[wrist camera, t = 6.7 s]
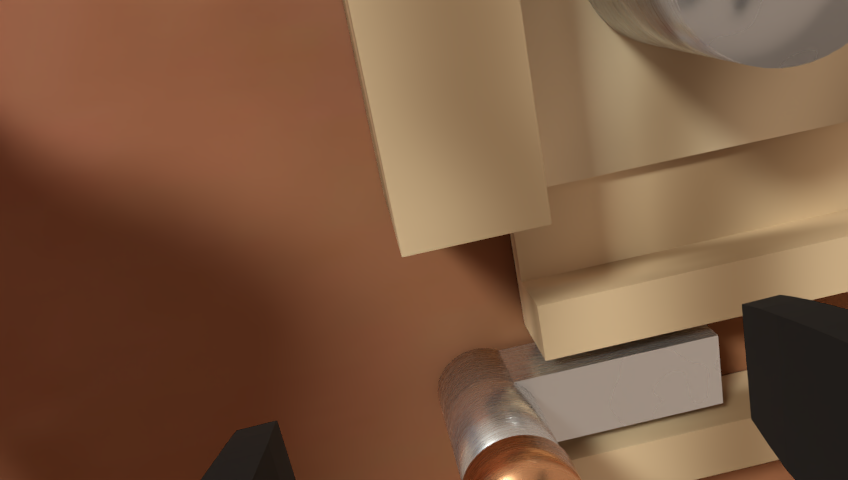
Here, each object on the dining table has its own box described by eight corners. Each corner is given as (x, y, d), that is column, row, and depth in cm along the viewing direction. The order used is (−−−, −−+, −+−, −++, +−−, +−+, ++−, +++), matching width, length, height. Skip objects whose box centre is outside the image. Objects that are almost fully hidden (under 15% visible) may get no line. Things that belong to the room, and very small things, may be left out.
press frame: (445, 486, 23) (477, 616, 19) (304, -180, 18) (298, -234, 13) (841, 393, 24) (967, 496, 19) (829, -280, 18) (1006, -367, 14)
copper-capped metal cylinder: (443, 438, 23) (482, 587, 17) (426, 357, 22) (461, 486, 16) (694, 380, 23) (810, 507, 18) (686, 297, 22) (806, 404, 17)
